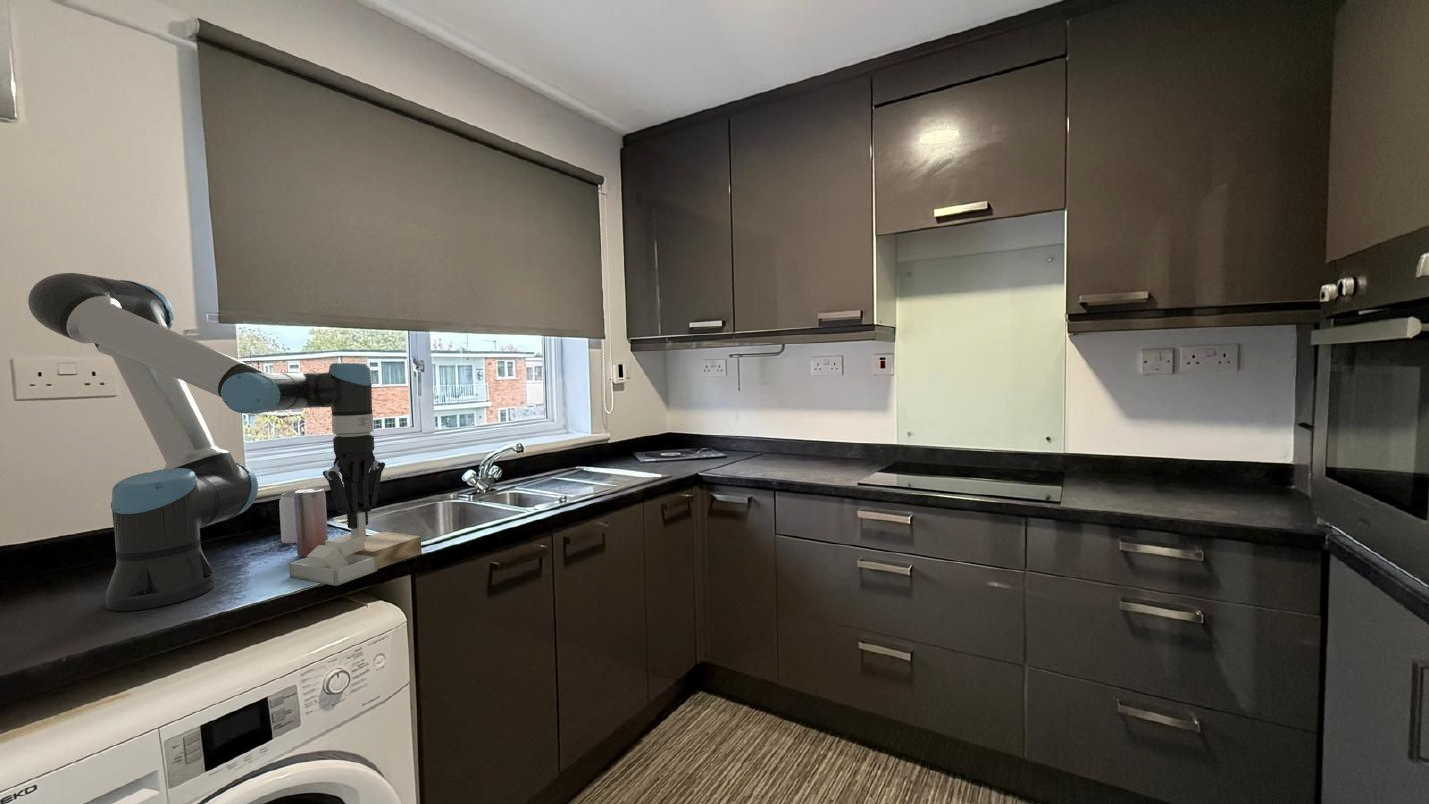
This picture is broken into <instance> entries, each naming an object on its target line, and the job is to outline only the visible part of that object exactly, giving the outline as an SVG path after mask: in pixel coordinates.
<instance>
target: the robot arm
mask: <svg viewBox="0 0 1429 804" xmlns="http://www.w3.org/2000/svg"><path fill="white" fill-rule="evenodd" d="M27 299H28V301H27V304H28V308H29V311H30V313H31V314H32V316H33V318H34V319H36V321H37V322H39V323H40V324H41V325H43V326H44V327H45V328H46V329H49V330H50V331H53V332H54V333H57V334H59V335H61V336H63V337H66V338H68V339H70V340H73V341H75V342H78V343H81V344H94V346H95V348H96V349H97V350H96V351H98V353H101V354H103V355H107V356H110V357H111V358H112V359H113V360H114V361H113V362H114V363H115V365H116V366H117V367H116V368H117V369H118V371H119V373H120V374H121V376H122V379H123V380H124V382H125V384H126V387H127V388H128V390H129V393H130V395H131V396H132V398H133V400H134V402H135V404H136V407H137V408H138V410H139V412H140V414H141V416H142V418H143V421H144V422H145V424H146V426H147V428H148V430H149V431H150V434H151V435H152V437H153V439H154V441H155V444H156V445H157V447H158V448H157V449H159V452H160V454H161V455H162V457H163V459H164V461H165V466H164V468H163V469H157V470H153V471H151V472H148V471H146V472H143V473H138V474H134V475H132V476H128V477H125V478H123V479H121V480H119V481H118V482H117V483H116V484H115V485H114V486H113V487H112V490H111V503H110V508H111V513H112V514H111V515H112V523H113V533H114V547H115V556H116V557H115V558H116V565H115V567H114V569H113V573H112V575H111V577H110V578H111V579H110V581H109V584H108V587H107V590H106V593H105V606H106V609H108V610H110V611H117V612H127V611H128V612H129V611H130V612H131V611H141V610H148V609H153V608H159V607H162V606H163V607H164V606H167V605H172V604H177V603H179V602H180V603H181V602H183V601H187V600H190V599H193V598H196V597H199V596H201V595H203V594H205V593H207V592H209V591H211V590H212V589H213V588H214V587H216V581H215V573H214V570H213V569H212V567H211V565H210V563H209V562H208V559H207V557H206V556H205V554H204V552H203V550H202V547H201V546H202V545H201V532H200V531H201V530H200V529H202V528H205V527H208V526H210V525H214V524H216V523H219V522H225V521H228V520H230V519H233V518H234V517H236V516H239V515H240V514H242V513H244V512H246V511H247V510H248V509H249V508H251V506H252V505H253V503H254V502H255V500H256V497H257V495H258V492H259V491H258V490H259V483H258V479H257V477H256V475H255V473H254V471H253V470H252V469H251V468H249V467H248V466H246V465H245V466H244V465H243V464H241V463H238V462H235V460H234V458H233V455H232V454H231V452H230V450H227V449H223V448H222V447H221V448H220V447H219V446H218V445H217V443H216V441H215V440H214V437H213V436H212V433H211V431H210V430H209V427H208V426H207V423H206V421H205V419H204V418H203V415H202V413H201V412H200V409H199V408H198V406H197V403H196V402H195V399H194V398H193V395H192V393H191V390H190V389H189V386H188V385H187V384H189V385H191V386H194V387H197V388H198V389H201V390H203V391H206V392H207V393H210V394H212V395H215V396H217V397H219V398H221V399H222V402H223V403H224V404H225V405H226V406H227V407H228V409H230V410H231V411H234V412H235V413H238V414H239V413H240V414H250V415H252V414H253V415H258V414H265V413H269V412H276V411H286V410H296V409H297V410H298V409H307V408H308V409H309V408H311V409H312V408H331V409H330V411H331V426H332V428H331V430H332V434H333V435H335V436H334V437H333V438H332V443H333V446H332V447H333V453H334V455H335V458H334V461H333V466H332V467H330V468H329V469H328V470H327V469H326V470H324V471H323V472H322V475H323V477H324V478H325V479H326V480H327V482H328V485H329V489H330V492H331V495H332V498H333V501H334V504H335V509H336V511H337V513H343V514H346V520H347V523H346V524H347V529H350V534H356V535H363V536H364V542H366V537H367V527H366V526H368V525H369V512H371V511H372V509H373V507H375V506H377V502H378V496H379V491H380V486H381V485H380V484H381V480H382V479H381V478H382V474H383V470H384V469H385V468H386V463H385V462H384V461H383V462H382V461H379V460H376V455H374V453H373V451H374V450H375V435H374V434H373V433H372V432H374V414H373V393H372V391H373V389H372V388H373V387H372V386H373V382H372V376H371V369H370V368H371V367H370V366H369V365H368V364H367V363H366V362H365V363H364V362H331V364H329V367H328V371H323V372H295V371H294V372H293V371H289V372H287V371H285V372H268V371H267V372H266V371H263V370H261V369H258V368H257V367H255V366H252V365H249V364H247V363H246V362H243V361H241V360H239V359H237V358H234V357H232V356H230V355H228V354H225V353H223V352H221V351H219V350H217V349H214V348H211V347H210V346H207V345H205V344H203V343H201V342H198V341H196V340H194V339H192V338H189V337H187V336H185V335H182V334H181V333H178V332H176V331H173V330H172V329H171V328H172V326H173V323H172V321H174V318H175V316H174V315H175V313H174V309H173V306H172V305H171V302H170V301H169V299H168V298H167V297H166V296H165V295H164V294H162V292H160V291H159V290H157V289H155V288H154V287H151V286H148V285H146V284H142V283H139V282H136V281H132V280H125V279H114V278H106V277H101V276H97V275H89V274H85V273H78V272H77V273H76V272H64V273H63V272H62V273H55V274H52V275H49V276H47V277H44V278H42V279H41V280H39V281H38V282H37V283H35V285H33V286H32V289H31V290H30V292H29V295H28V298H27ZM340 476H341V477H340Z"/></svg>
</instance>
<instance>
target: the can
mask: <svg viewBox="0 0 1429 804" xmlns="http://www.w3.org/2000/svg"><path fill="white" fill-rule="evenodd" d="M294 495H295V491H290V492H289V491H288V492H285V493H282V494H281V495H280V498H279V501H278V502H279V505H278V506H279V520H280V522H279V523H280V536H281V537H280V538H281V542H282V543H283V544H285V545H293V544H295V545H296V544H297V541H296V524H295V507H294Z"/></svg>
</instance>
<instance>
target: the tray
mask: <svg viewBox="0 0 1429 804" xmlns="http://www.w3.org/2000/svg"><path fill="white" fill-rule="evenodd" d="M343 558H344V559H345V560H346V562H347V563H348V565H347V566H345V567H342V568H339V569H336V570H335V569H330V568H324V567H318V566H314V564H313V563H312V562H311V560H310V559H309V558H308V557H307V558H301V559H297V560H294V561H291V562H288V566H289V567H288V569H289V578H293V579H298V580H303V581H308V582H314V583H319V584H323V585H324V584H325V585H329V586H335V587H337V586H340V585H343V584H345V583H348V582H350V581H353V580H356V579H359V578H361V577H364V576H367V575H369V574H372V573H375V572H378V569H377V557H374V556H367V555H361V554H354V553H353V554H350V555H347V556H344V557H343Z"/></svg>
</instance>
